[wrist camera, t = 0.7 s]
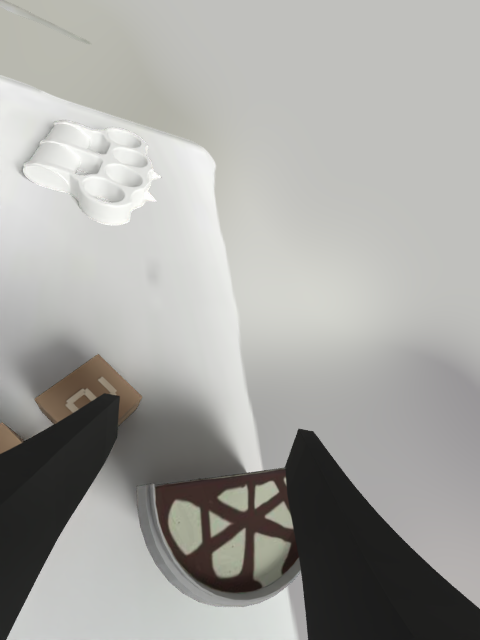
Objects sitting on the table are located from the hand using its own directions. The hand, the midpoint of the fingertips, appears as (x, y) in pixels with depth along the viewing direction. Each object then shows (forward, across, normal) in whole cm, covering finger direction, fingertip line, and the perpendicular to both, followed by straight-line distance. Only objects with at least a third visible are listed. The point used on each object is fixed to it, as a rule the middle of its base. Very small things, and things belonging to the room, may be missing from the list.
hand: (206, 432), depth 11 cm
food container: (+7, -1, +16) cm, 17 cm away
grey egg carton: (+34, +21, -9) cm, 41 cm away
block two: (+10, +10, +10) cm, 17 cm away
